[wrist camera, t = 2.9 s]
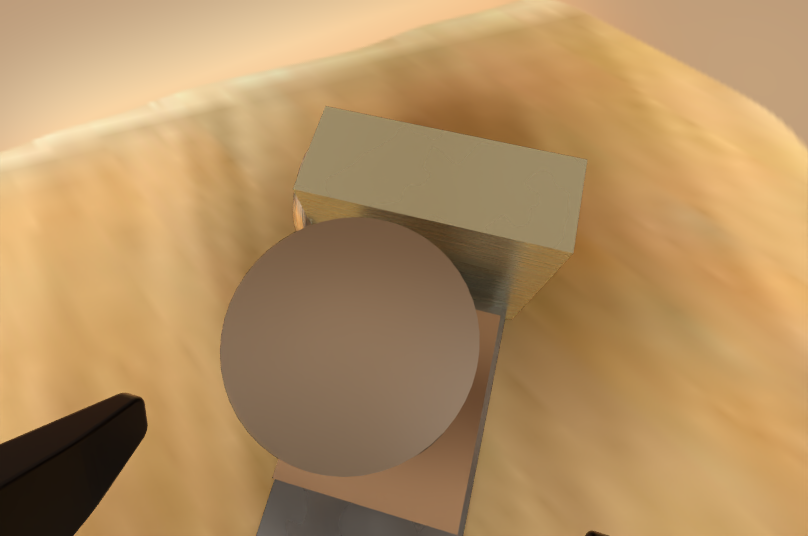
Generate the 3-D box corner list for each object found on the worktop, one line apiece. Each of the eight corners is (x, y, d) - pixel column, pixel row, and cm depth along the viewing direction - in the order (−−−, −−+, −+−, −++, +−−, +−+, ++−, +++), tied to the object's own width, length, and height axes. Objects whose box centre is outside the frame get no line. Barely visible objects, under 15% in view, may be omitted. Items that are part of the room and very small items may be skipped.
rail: (398, 917, 13) (377, 1572, 6) (140, 812, 14) (-172, 1253, 7) (524, 252, 20) (588, 151, 13) (346, 211, 21) (309, 94, 14)
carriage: (452, 521, 15) (568, 828, 4) (289, 471, 16) (-50, 601, 4) (491, 327, 17) (640, 138, 6) (347, 291, 18) (227, 57, 7)
